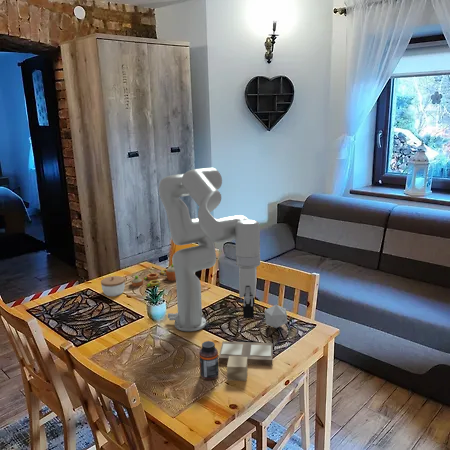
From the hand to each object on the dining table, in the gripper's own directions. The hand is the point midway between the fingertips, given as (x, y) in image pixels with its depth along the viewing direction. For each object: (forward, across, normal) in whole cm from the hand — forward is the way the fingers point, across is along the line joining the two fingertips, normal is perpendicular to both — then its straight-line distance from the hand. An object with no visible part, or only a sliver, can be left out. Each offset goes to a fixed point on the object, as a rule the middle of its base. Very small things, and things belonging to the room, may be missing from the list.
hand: (249, 310), depth 140 cm
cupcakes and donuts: (+20, -73, -49) cm, 90 cm away
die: (+20, -28, +9) cm, 36 cm away
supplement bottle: (+21, +5, -13) cm, 25 cm away
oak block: (+21, +4, -4) cm, 21 cm away
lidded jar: (+19, -58, -66) cm, 90 cm away
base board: (+20, -8, -2) cm, 22 cm away
